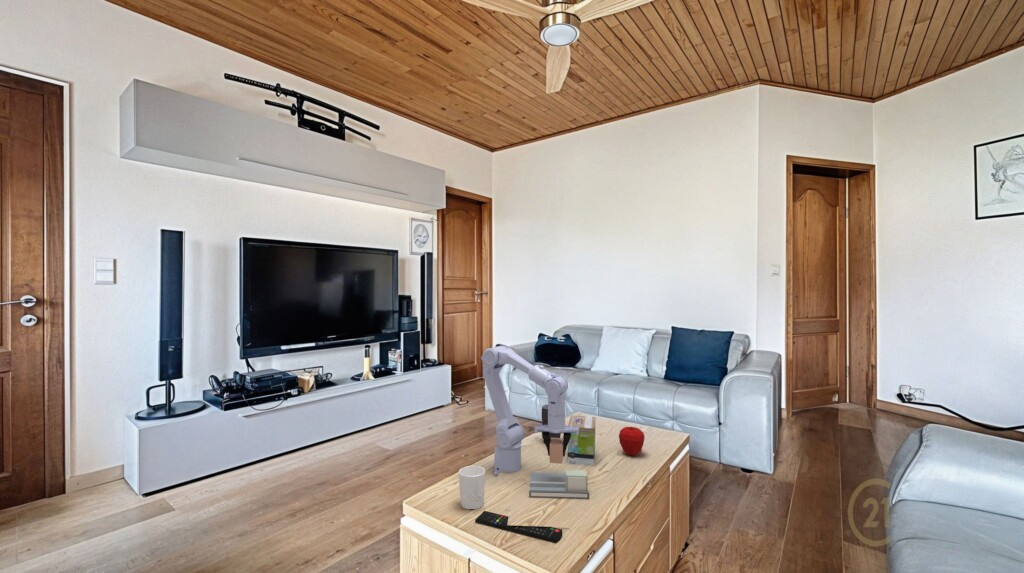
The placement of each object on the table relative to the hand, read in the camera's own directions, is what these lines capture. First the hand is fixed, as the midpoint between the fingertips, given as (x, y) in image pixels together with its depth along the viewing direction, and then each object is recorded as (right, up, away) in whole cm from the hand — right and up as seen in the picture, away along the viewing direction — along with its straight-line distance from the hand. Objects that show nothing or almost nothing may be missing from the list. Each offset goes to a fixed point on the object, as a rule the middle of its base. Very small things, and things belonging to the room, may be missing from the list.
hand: (556, 455), depth 144 cm
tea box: (+11, -10, +20) cm, 25 cm away
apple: (+32, -10, +26) cm, 42 cm away
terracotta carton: (0, -1, 0) cm, 1 cm away
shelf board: (0, -9, -4) cm, 10 cm away
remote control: (-13, -10, -27) cm, 31 cm away
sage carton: (+5, -8, -9) cm, 13 cm away
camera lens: (+2, -10, +38) cm, 40 cm away
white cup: (-27, -10, -14) cm, 32 cm away
